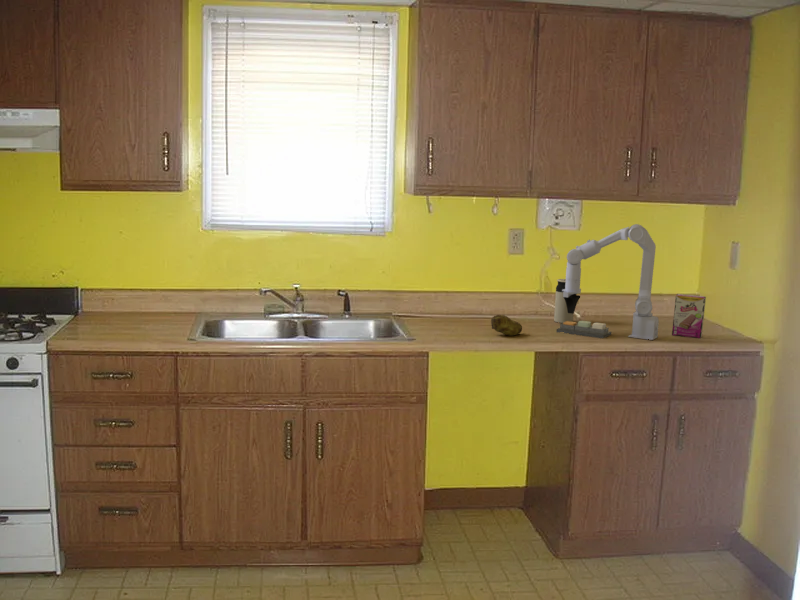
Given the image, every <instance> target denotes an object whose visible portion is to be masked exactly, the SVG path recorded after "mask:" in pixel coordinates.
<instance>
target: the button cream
mask: <svg viewBox="0 0 800 600" xmlns="http://www.w3.org/2000/svg"><path fill="white" fill-rule="evenodd" d="M606 326H607V323H602V322H594V323H592V328H595V329H605V328H606Z"/></svg>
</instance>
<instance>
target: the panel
mask: <svg viewBox="0 0 800 600" xmlns="http://www.w3.org/2000/svg"><path fill="white" fill-rule="evenodd" d="M592 326H593V324H591V326H590V327H580V326H578V322H577V323H576V325H574V326H573V325H566V324H563V323H559V327H558V328H556V333H560V332H564V333H563V334H567V333H569V334H568V335H574V334H576V336H581V335H582V337H589V338H597V339H605V338H607V337H609V336H611V335H612V331H610V330H609V327H606V328H605V329H595V328H592Z"/></svg>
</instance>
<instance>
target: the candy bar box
mask: <svg viewBox="0 0 800 600" xmlns="http://www.w3.org/2000/svg"><path fill="white" fill-rule="evenodd" d="M706 300H707V296H703V295H695V294H684V293H677V294H676V295H675V302H674V312H673V321H672V332H671V335H672V336H675V337H676V336H677V337H684V338H685V337H686V338H694V339H701V338H702V337H703V329H704V321H705V320H704V319H705V318H704V317H705V310H706V309H705V308H706Z"/></svg>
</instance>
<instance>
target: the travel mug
mask: <svg viewBox="0 0 800 600" xmlns="http://www.w3.org/2000/svg"><path fill="white" fill-rule="evenodd" d="M556 281H557V285H556V287H555V298H554V300H555V301H554V317H553V321H554V322H555V323H557V322H559V323H558V324H562V323H563V322H566V321H570V322H574V314H575V312H574V313H573V314H571V313H568V311H567V305H566V302H565V299H564V297H563V292H564V291H562V289H565V283H566V278H559V279H556Z"/></svg>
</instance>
